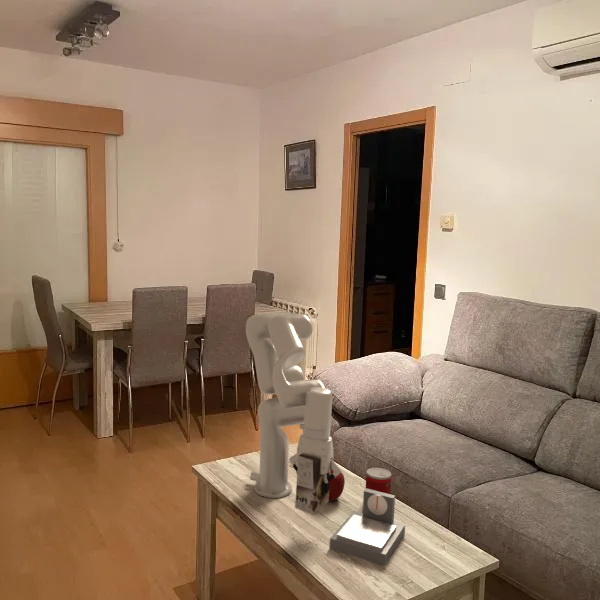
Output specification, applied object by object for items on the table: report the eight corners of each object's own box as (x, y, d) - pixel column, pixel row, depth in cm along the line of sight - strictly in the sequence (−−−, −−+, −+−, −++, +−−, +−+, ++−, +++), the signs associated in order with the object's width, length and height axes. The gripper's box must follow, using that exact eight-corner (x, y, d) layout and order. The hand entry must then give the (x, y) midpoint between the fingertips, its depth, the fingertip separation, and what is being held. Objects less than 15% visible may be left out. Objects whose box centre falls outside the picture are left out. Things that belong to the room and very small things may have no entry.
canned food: (389, 512, 181) (390, 478, 179) (363, 508, 182) (365, 475, 181) (390, 501, 188) (392, 469, 187) (365, 497, 190) (367, 466, 188)
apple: (337, 490, 194) (338, 462, 193) (348, 503, 185) (350, 474, 184) (311, 493, 191) (312, 465, 190) (321, 507, 182) (322, 477, 181)
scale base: (329, 548, 159) (331, 510, 158) (353, 520, 175) (355, 485, 174) (384, 565, 152) (387, 526, 151) (404, 534, 168) (406, 498, 167)
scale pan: (336, 538, 159) (336, 534, 159) (353, 517, 171) (353, 514, 170) (381, 551, 153) (381, 547, 153) (396, 529, 165) (396, 525, 165)
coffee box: (313, 515, 161) (317, 461, 158) (294, 508, 164) (297, 455, 161) (329, 502, 168) (333, 450, 165) (310, 495, 172) (313, 444, 169)
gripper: (283, 429, 163) (280, 487, 166) (339, 443, 155) (335, 504, 158) (295, 420, 169) (292, 477, 172) (350, 434, 162) (345, 493, 165)
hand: (313, 489), depth 165 cm, fingers closed on coffee box, 6 cm apart
